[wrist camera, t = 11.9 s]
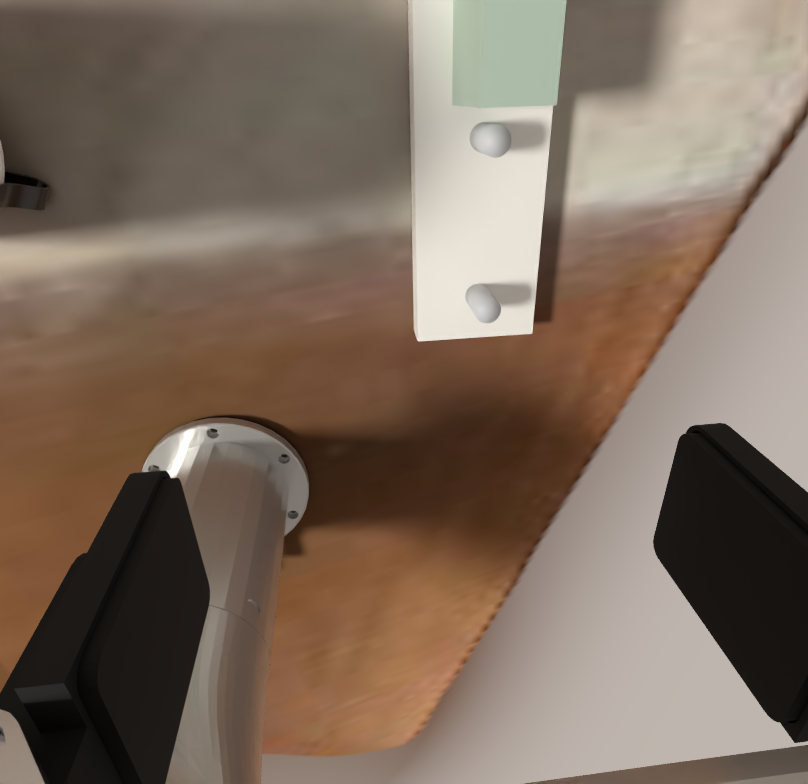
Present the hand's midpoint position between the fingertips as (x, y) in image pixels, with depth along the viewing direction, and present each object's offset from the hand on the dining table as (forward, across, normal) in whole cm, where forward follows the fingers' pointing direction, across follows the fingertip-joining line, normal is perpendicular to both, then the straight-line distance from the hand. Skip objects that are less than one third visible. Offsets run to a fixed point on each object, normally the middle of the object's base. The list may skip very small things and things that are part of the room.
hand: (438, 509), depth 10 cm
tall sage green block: (+26, -7, -9) cm, 29 cm away
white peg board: (+28, -7, -4) cm, 29 cm away
